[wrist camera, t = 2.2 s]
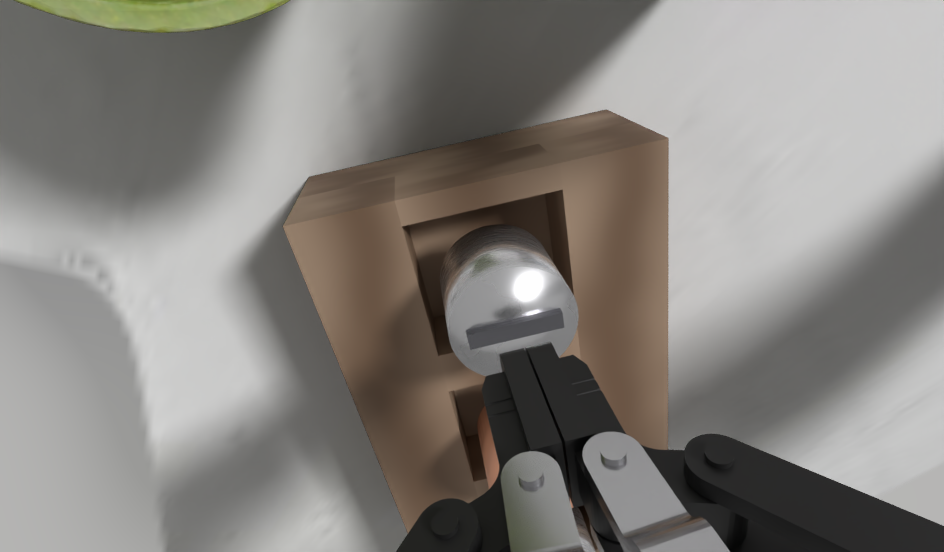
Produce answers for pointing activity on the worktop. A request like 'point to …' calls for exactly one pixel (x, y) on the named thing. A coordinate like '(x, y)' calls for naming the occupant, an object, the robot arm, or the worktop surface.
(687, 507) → the robot arm
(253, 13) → the plant pot
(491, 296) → the metal knob
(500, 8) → the worktop surface
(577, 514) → the metal knob
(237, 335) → the worktop surface
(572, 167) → the console
